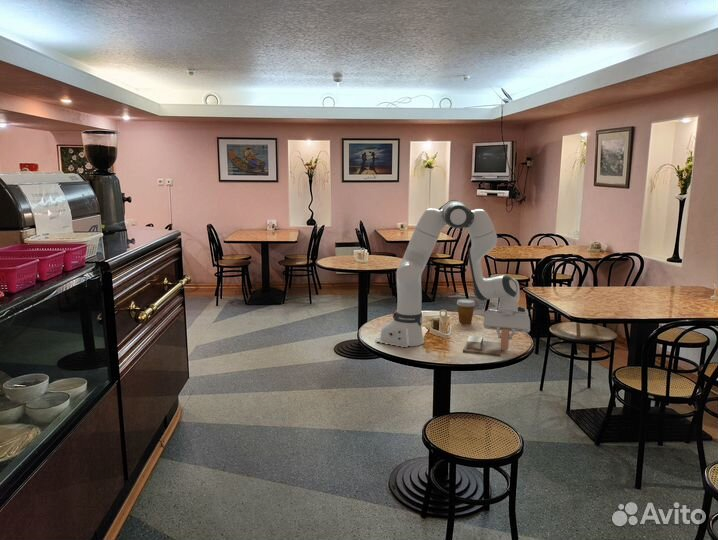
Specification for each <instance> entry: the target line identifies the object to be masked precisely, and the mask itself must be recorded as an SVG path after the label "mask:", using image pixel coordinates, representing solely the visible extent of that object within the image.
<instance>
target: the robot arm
mask: <svg viewBox="0 0 718 540" xmlns="http://www.w3.org/2000/svg"><path fill="white" fill-rule="evenodd" d="M446 226H449V227H451V228H453V229H464V228H466V229H467V232H468V234H469V237H470V240H471V246H470V247H469V249H468V260H469V267H470V272H471V277H472V278H471V279H472V288H473V289H472V290H473V294H474V296H475V298H476V299H478V300H480V301H481V302H482V301H483V302H484V301H488V300H489V301H490V300H491V299H498V298H499V302H498V308H497V309H487V310H485V311H484V313H483V317H484V318H483V323H482V325H483V328H484V329H487V330H496V333H497V338H498V339H501V331H502V329H509V332H511V333H509V340H513V336H514V335H515V334H516V332H518V333H530V331H531V319H530V316H529V309H527V308H525V307H523V306H520V305H519V301H520V295H521V293H520V291H521V290H520V284H519V281H518V280H517V279H515V278H512V277H511V276H509V275H507V274H502V275H497V276H492V277H485V276H484V273H483V268H482V263H481V261H482V258H483V257H484V256H487V254H489V253H490V252H492V251H493V250H494V249H495V248H496V245H497V243H498V235H497V232H496V229H495V227H494V224H493V222H492V220H491V217H490V216H489V214H488V213H487V211H486V210H485V209H482V208H475V209H472V210H471V209H469V208H468V206H466V205H465V204H464V203H463V202H462V201H460V200H458V199H457V200H456V199H455V200H454V199H453V200H449V201H447V202H446V203H444V204H443V205H442V206H440V207H439V208H438V209H437V208H434V207H429V208H427V209H425V211H424V212H423V213H422V215H421V216H420V218H419V219H418V222H417V224H416V226H415V228H414V231H413V233H412V235H411V238H410V240H409V242H408V245H407V247H406V250H405V252H404V254H403V257H402V259H401V261H400V263H399V265H398V267H397V269H396V293H397V300H396V301H397V304H396V305H397V307H396V309H395V311H394V312H393V313H392V318H393V319H391V320H390V321H388V322H387V323H386V324H384V325H383V326H382V329H381V330H380V331H381V332H380V334H378V335H377V336H376V338H375V342H376V341H377V342H381V343H380V344H382V343H387V344H392V345H397V346H396V347H398V346H401V347H400V348H403V347H406V348H409V347H408V346H410V347H416V346H421V345H423V344H424V343H425V340H424V334H423V328H422V325H423V312H422V300H423V299H422V298H423V297H422V296H423V295H422V275H423V272H424V270H425V268H426V266H427V263H428V261H429V259H430V257H431V255H432V252H433V251H434V248H435V246H436V243H437V241H438V240H439V237H440V234H441V232H442V230H443V229H444V228H445V227H446ZM377 342H376V343H377ZM387 344H386V345H387ZM392 345H391V346H392Z"/></svg>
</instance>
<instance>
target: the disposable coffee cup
mask: <svg viewBox="0 0 718 540" xmlns="http://www.w3.org/2000/svg"><path fill="white" fill-rule="evenodd" d="M456 304H457V305H456V306H457V313H458V314H457V315H458V323H459V322H460V323H462V324H461V325H464V324H468V325H471V324H472V320H473V317H474V316H473V315H474V310H475V305H476V302H475V300H473V299H470V298H460V299H457V302H456ZM460 323H459V324H460Z"/></svg>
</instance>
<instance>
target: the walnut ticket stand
mask: <svg viewBox="0 0 718 540" xmlns="http://www.w3.org/2000/svg"><path fill="white" fill-rule="evenodd" d="M465 352H466V354H467V353H468V354H475V355H485V356H493V357H501V356H502V352H503V350H501V342H499V341H498V342H497V341H488V340H487V341H486V340H484V337H483V336H474V335H469V336H468V337H467V339H466V343H465V345H464V347H463V348H462V353H465Z"/></svg>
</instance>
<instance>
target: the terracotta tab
mask: <svg viewBox="0 0 718 540" xmlns="http://www.w3.org/2000/svg"><path fill="white" fill-rule="evenodd" d="M500 333H501V338H500V343H501V350H502V351H508V350H509V343H510V339H509V334H510V331H509V329H502V330H500Z"/></svg>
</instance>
